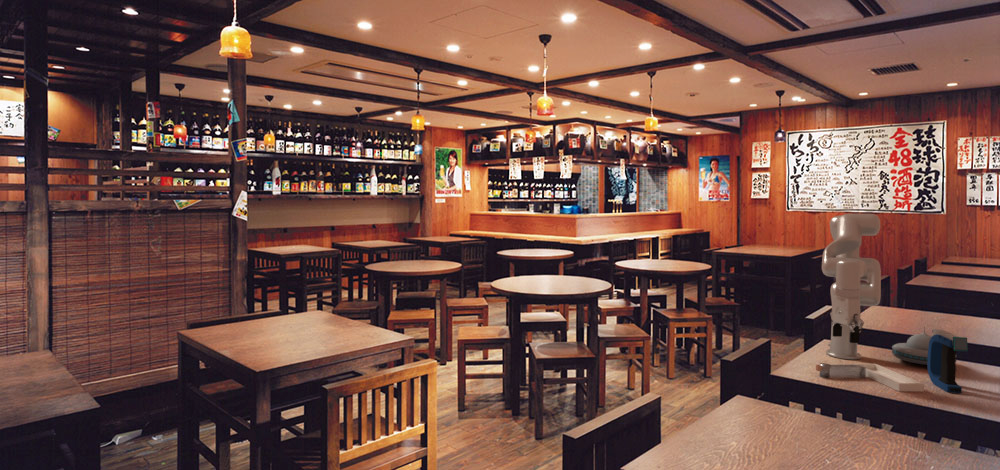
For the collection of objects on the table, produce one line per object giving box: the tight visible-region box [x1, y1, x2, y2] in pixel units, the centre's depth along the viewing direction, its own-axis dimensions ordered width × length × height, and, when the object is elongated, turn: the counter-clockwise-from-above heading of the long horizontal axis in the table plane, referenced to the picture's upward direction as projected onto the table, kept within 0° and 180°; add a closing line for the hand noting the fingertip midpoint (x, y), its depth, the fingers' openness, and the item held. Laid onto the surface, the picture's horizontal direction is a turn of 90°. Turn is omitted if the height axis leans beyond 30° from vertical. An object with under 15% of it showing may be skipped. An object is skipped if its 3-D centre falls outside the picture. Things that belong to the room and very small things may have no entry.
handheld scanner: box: [926, 328, 968, 394], centre depth 187 cm, size 5×16×20 cm, turn 166°
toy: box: [891, 326, 958, 366], centre depth 216 cm, size 20×20×15 cm
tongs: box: [815, 362, 867, 379], centre depth 199 cm, size 17×4×4 cm, turn 90°
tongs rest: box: [852, 363, 925, 392], centre depth 195 cm, size 24×9×3 cm, turn 0°
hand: (845, 339), depth 198 cm, fingers open, 9 cm apart
